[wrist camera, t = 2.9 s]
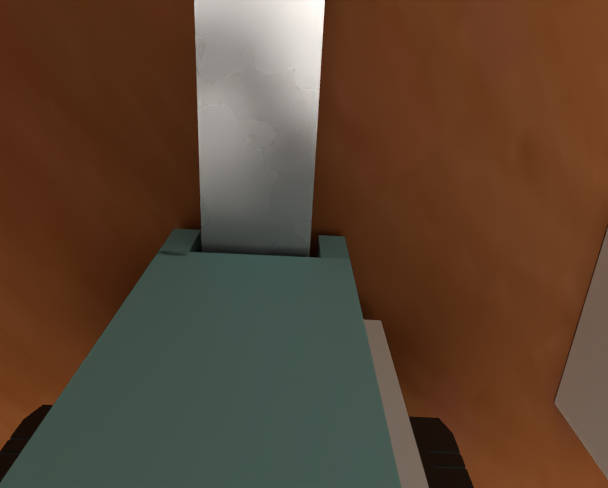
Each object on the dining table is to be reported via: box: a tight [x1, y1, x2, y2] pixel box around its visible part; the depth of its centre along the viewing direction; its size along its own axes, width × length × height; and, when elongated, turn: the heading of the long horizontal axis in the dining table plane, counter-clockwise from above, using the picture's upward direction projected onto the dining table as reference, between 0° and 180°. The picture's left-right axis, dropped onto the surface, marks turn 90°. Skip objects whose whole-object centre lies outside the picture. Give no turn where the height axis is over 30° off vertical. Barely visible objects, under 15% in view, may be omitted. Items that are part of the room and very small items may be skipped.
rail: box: [194, 0, 325, 257], centre depth 12 cm, size 24×5×5 cm, turn 177°
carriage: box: [0, 229, 401, 488], centre depth 12 cm, size 7×5×10 cm
